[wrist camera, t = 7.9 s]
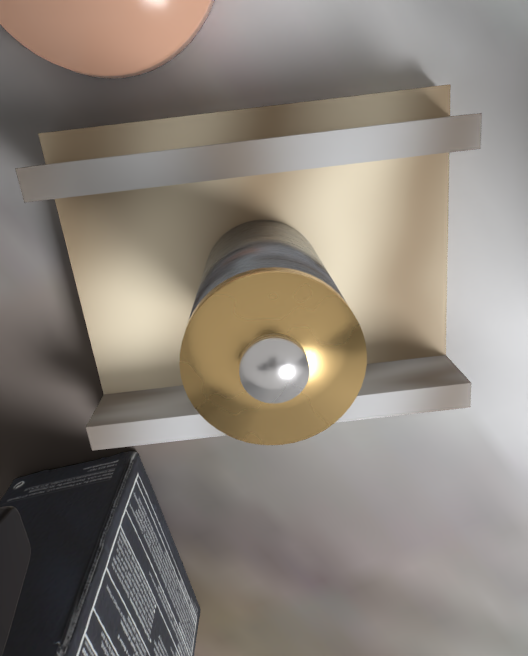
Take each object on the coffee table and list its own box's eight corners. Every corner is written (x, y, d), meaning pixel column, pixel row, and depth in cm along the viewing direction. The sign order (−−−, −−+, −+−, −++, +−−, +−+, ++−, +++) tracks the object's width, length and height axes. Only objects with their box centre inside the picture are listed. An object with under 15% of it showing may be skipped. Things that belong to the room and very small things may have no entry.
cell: (316, 213, 18) (367, 267, 11) (324, 325, 20) (374, 443, 12) (196, 227, 18) (160, 291, 11) (213, 338, 20) (194, 463, 12)
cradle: (437, 87, 18) (482, 76, 15) (434, 385, 22) (469, 430, 19) (50, 133, 18) (5, 133, 15) (120, 421, 23) (98, 473, 19)
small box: (3, 476, 23) (-172, 721, 14) (138, 444, 23) (60, 671, 13) (86, 635, 27) (-3, 917, 17) (204, 609, 27) (181, 883, 17)
